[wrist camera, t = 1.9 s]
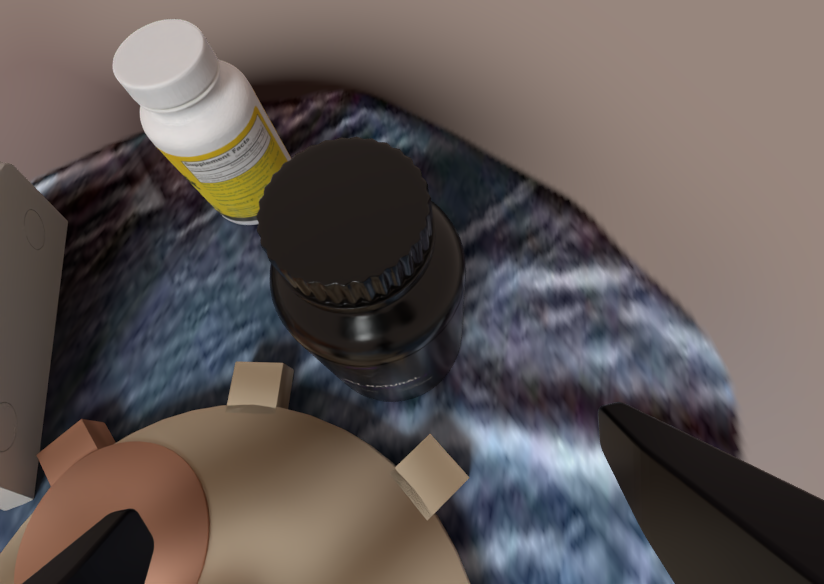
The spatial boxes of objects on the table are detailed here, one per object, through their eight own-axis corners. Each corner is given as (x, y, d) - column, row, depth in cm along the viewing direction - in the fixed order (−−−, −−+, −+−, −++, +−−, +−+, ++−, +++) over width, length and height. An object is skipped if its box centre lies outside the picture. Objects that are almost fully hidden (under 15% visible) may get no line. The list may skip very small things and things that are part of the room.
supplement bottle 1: (214, 166, 28) (100, 22, 19) (296, 146, 28) (220, -7, 19) (216, 237, 26) (89, 113, 17) (305, 217, 26) (224, 81, 17)
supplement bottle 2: (378, 434, 21) (287, 385, 10) (307, 325, 24) (172, 191, 13) (491, 349, 22) (522, 220, 11) (412, 253, 25) (373, 71, 14)
